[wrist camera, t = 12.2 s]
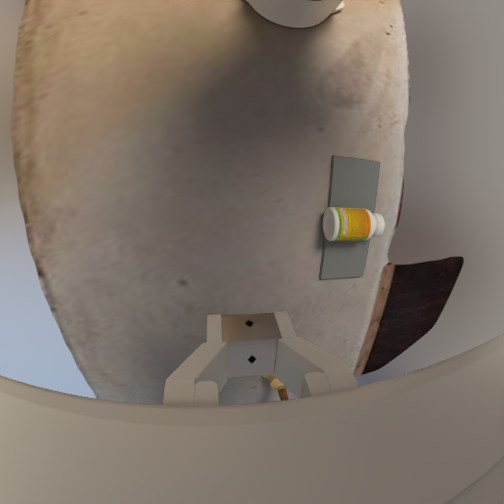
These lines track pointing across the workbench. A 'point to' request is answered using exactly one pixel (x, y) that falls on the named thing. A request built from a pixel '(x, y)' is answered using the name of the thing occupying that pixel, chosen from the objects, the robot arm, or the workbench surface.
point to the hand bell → (277, 386)
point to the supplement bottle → (351, 224)
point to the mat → (349, 196)
